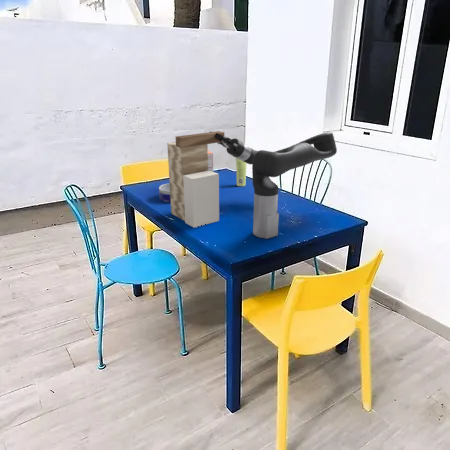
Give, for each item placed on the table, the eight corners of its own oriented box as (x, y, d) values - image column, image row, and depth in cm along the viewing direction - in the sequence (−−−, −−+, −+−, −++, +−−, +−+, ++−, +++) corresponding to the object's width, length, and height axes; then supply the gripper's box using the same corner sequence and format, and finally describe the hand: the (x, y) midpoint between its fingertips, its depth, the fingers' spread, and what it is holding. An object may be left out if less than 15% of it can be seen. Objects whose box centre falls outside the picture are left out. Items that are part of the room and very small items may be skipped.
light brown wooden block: (224, 141, 170) (224, 132, 168) (181, 147, 157) (180, 137, 156) (218, 140, 173) (218, 131, 171) (175, 146, 160) (175, 136, 159)
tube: (239, 183, 224) (239, 149, 216) (247, 184, 221) (248, 150, 214) (235, 186, 219) (235, 151, 212) (243, 187, 217) (243, 152, 209)
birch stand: (208, 214, 177) (207, 144, 165) (185, 221, 170) (182, 147, 158) (194, 207, 186) (192, 140, 174) (171, 213, 179) (167, 143, 167)
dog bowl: (193, 200, 196) (193, 189, 194) (163, 204, 191) (162, 192, 189) (184, 192, 209) (184, 181, 207) (156, 195, 204) (155, 184, 202)
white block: (219, 220, 170) (218, 173, 162) (194, 227, 163) (192, 179, 155) (209, 216, 176) (209, 170, 168) (185, 222, 168) (183, 175, 160)
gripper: (245, 160, 174) (218, 144, 162) (226, 154, 184) (199, 140, 173) (252, 144, 173) (225, 128, 162) (232, 140, 184) (206, 124, 172)
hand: (212, 134), depth 167 cm, fingers closed on light brown wooden block, 4 cm apart
